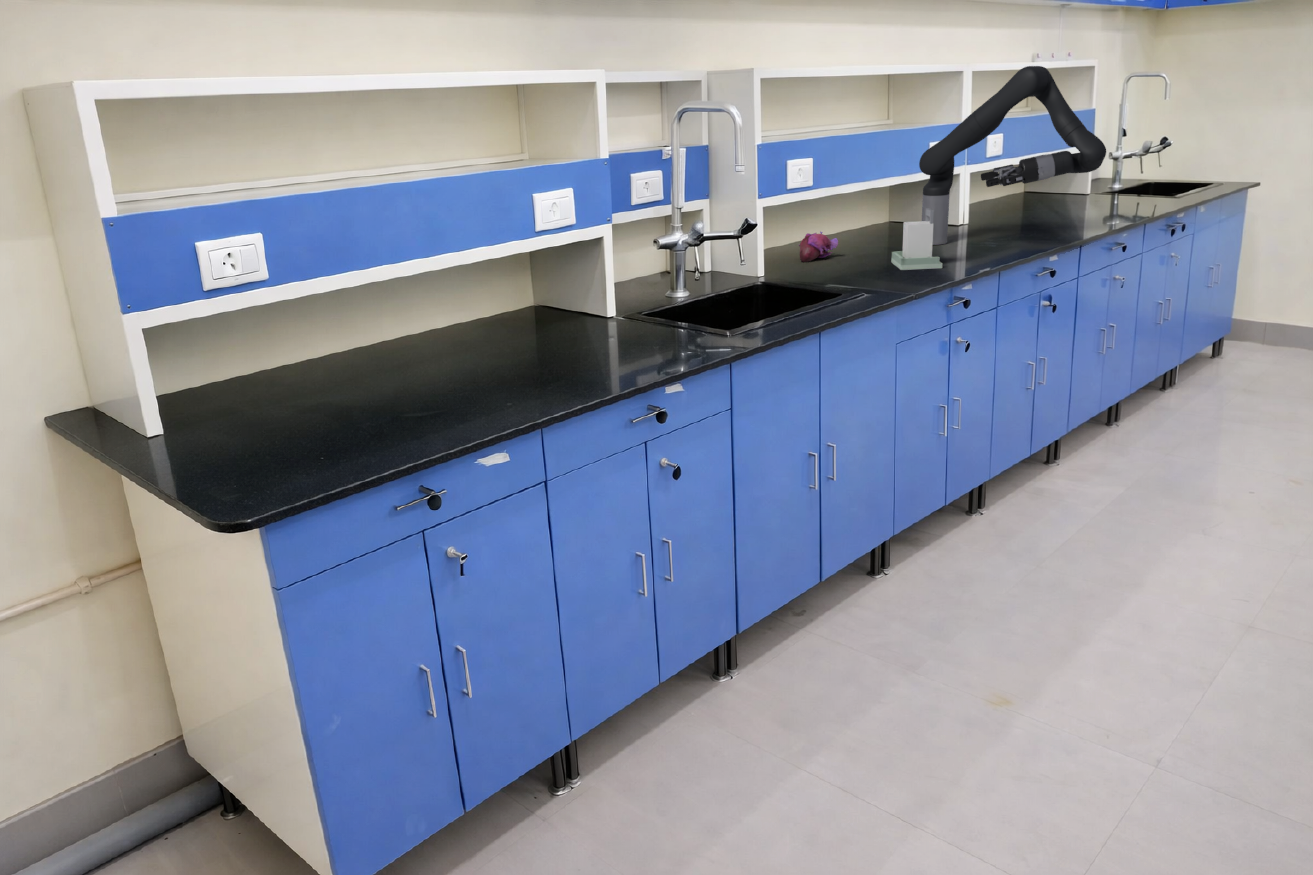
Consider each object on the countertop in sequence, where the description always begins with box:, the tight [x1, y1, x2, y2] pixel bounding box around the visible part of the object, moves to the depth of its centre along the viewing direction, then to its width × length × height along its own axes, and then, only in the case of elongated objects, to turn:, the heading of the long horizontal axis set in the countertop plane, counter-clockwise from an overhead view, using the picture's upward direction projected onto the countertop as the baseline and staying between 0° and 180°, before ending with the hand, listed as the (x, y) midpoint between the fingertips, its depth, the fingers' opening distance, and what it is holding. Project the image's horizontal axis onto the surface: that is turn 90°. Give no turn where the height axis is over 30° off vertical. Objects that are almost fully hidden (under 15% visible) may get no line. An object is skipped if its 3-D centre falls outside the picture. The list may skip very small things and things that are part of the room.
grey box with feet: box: [902, 208, 934, 258], centre depth 313 cm, size 6×8×16 cm
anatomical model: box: [798, 231, 839, 263], centre depth 335 cm, size 12×10×15 cm
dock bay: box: [890, 250, 943, 271], centre depth 316 cm, size 14×13×4 cm
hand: (983, 180), depth 309 cm, fingers open, 8 cm apart
